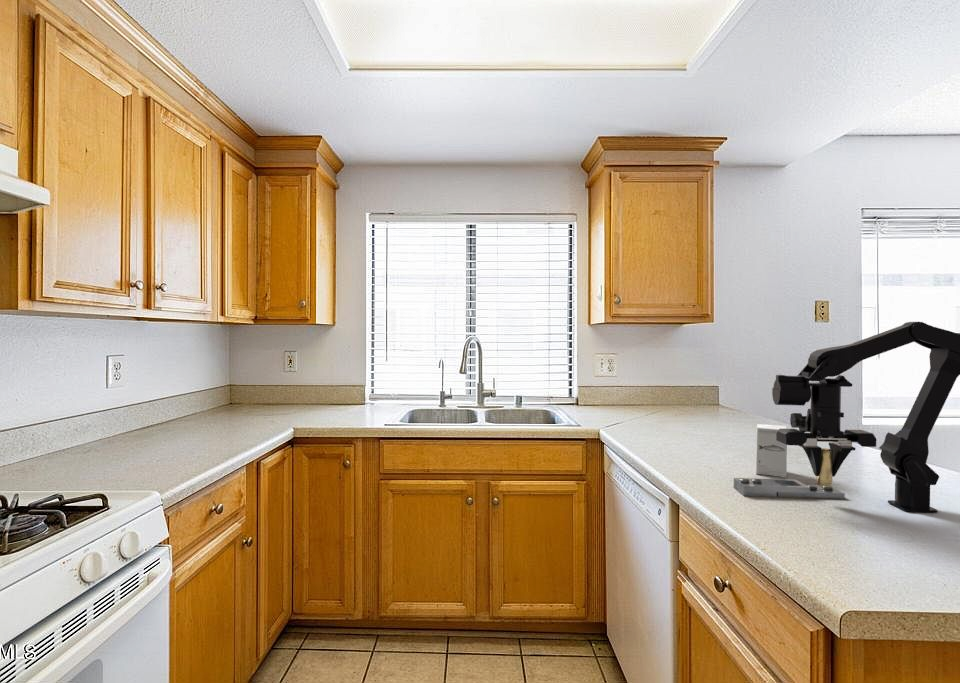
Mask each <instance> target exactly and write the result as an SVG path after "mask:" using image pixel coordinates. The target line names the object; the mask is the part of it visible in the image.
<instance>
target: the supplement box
mask: <svg viewBox="0 0 960 683" xmlns="http://www.w3.org/2000/svg"><path fill="white" fill-rule="evenodd" d="M779 429H788V426H787V425H775V424H762V423H761V424H760V423H757V424H756V438H755V439H756V446H755V448H756V449H755V452H756V453H755V473H756V475H764V476H771V477H772V476H773V477H780V476H781V478H787V476H788V475H787V472H788V471H787V468H788V467H787V464H788V463H787V462H788V461H787V460H788V459H787V454H788V445H786V444H783V443H781V442H779V441H777V440H776V433H777V431H778V430H779Z"/></svg>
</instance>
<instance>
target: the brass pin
mask: <svg viewBox="0 0 960 683" xmlns="http://www.w3.org/2000/svg"><path fill="white" fill-rule="evenodd" d="M832 470H833V450H832V449H830V448H826V447H821V460H820V472H819V476H816V485H818V486H822V487H833V477H832Z"/></svg>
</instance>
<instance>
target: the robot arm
mask: <svg viewBox="0 0 960 683" xmlns="http://www.w3.org/2000/svg"><path fill="white" fill-rule="evenodd" d="M912 343H916V344H917V345H919V346H921V347H923V348H927V349H929V350H930V353H929V355H928V356H929V371H928V373H927V375H926V377H925V379H924V381H923V383H922V386H921V388H920V390H919V393H918V394H917V397H915V398H916V399H915V401H914V402H913V405H912V407H911V409H910V411H909V413H908V414H907V418H906V419H905V421H904V423H903V426H902V428H901V429H900V430H899V431H897V432H896V433H895V434H894V433H892V432H889V431H888V432H887V433H886V435H885V436H884V441H883V443H882V444H881V445H880V446H879V447H878V448H879V449H880V450H881V451H880V459H881V461H882V464H884V465H885V466H887V468H888V469H889V472H890V474H891V475H894V476H895V482H894V483H895V484H894V500H892V499H890V500H887V503H888V504H890V505H892V506H894V507H896V508H898V509H900V510H902V511H904V512H915V513H916V512H917V513H938V512H939V510H938V509H937V508H934V507H933V506H931V486H936V485H937V482H939V479H940V476H939V474H938V473H937V472H936V471H934V470H933V468H931V467H930V466H929V465H928V464H927V461H928V458H929V453H930V452H929V449H930V448H929V437H930V435H931V432H932V430H933V429H934V426H935V424H936V422H937V420H938V418H939V416H940V413H941V412H942V410H943V407H944V405H945V403H946V401H947V399H948V398H949V395H950V393H951V390H952V389H953V387H954V384H955V382H956V381H957V378H959V376H960V332H954V331H951V330H947V329H944V328H940V327H936V326H933V325H930V324H928V323H926V322H923V321H907V322H904V323H903V324H901V325H899V326H896V327H894V328H891V329H888V330H886V331H882V332H880V333H877V334H874V335H871V336H869V337H866V338H863V339H860V340H858V341H855V342H853V343H850V344H845V345H839V346H838V345H836V346H831V347H830V346H829V347H826V348H821V349H816V350H815V351H813V352H811V353H810V354H809V357H808V359H807V364H806V365H805V366H804V367H803V368H802V369H801V371H799V373H798V374H797V375H786V374H785V375H784V374H776V375H775V380H774V382H773V387H772V389H771V394H772V400H773V404H774V405H775V406H805V405H806V403H809V402H810V408H807V410H806V411H807V412H806V415H802V413H801V412H792V413H790V417H789V419H790V420H789V422H790V426H791V428H787V429H779V430H778V431H777V433H776V440H777V441H779V442H781V443H783V444H786V445H787V446H797V447H801V448H802V450H804V453H805V454H806V456H807V458H808V460H809V464H810V466H811V469H812V472H813V475H814V476H815V477H817V476H819V472H820V460H821V448H822V447H821V446H819V445H818V442H819V443H820V442H825V443H827V442H828V446H829V449H832V450H833V470H832V478H833V477H836V475H837V473H838V471H839V470H840V468H841V466H842V464H843V463H844V461H845V460H846V459H847V457H848V455H850V454H851V452H852V451H856V447H854V446H853V443H857V444H858V445H859V446H861V447H863V448H864V447H865V448H866V447H867V448H868V447H869V448H876V447H877V438H876V435H875V434H874V433H873V432H869V431H866V430H863V429H845V430H844V431H842V430H841V418H845V415H844V414H845V412H841V411H842V410H841V409H842V407H841V406H842V387H843V388H845V387H846V388H848V387H849V388H850V387H853V383H851V381H849V380H847V378H846V377H845V375H841V374H843V373H845V372H847V371H848V370H851V369H852V368H853V367H855V365H857V364H858V363H860V362H862V361H863V360H866V359H869V358H872V357H875V356H878V355H881V354H883V353H887V352H888V351H892V350H894V349H895V350H896V349H898V348H900V347H903V346H906V345H909V344H912ZM827 377H828V378H827ZM831 377H835V378H831ZM796 428H797V429H796Z"/></svg>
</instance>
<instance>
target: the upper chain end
mask: <svg viewBox="0 0 960 683" xmlns="http://www.w3.org/2000/svg"><path fill="white" fill-rule="evenodd" d="M782 485H788V486H782ZM806 485H807V484H806V483H803V482H801V481H799V480H797V479H794V478H793V479H789V478H753V477H752V478H748V477H747V478H746V477H745V478H744V477H733V489H735V490H736V491H737V492H738V493H740V494H741V495H742V496H744V497H754V498H755V497H759V498H761V497H763V498H765V497H766V498H778V497H777V492H799V493H810V487H808V486H806Z"/></svg>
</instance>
